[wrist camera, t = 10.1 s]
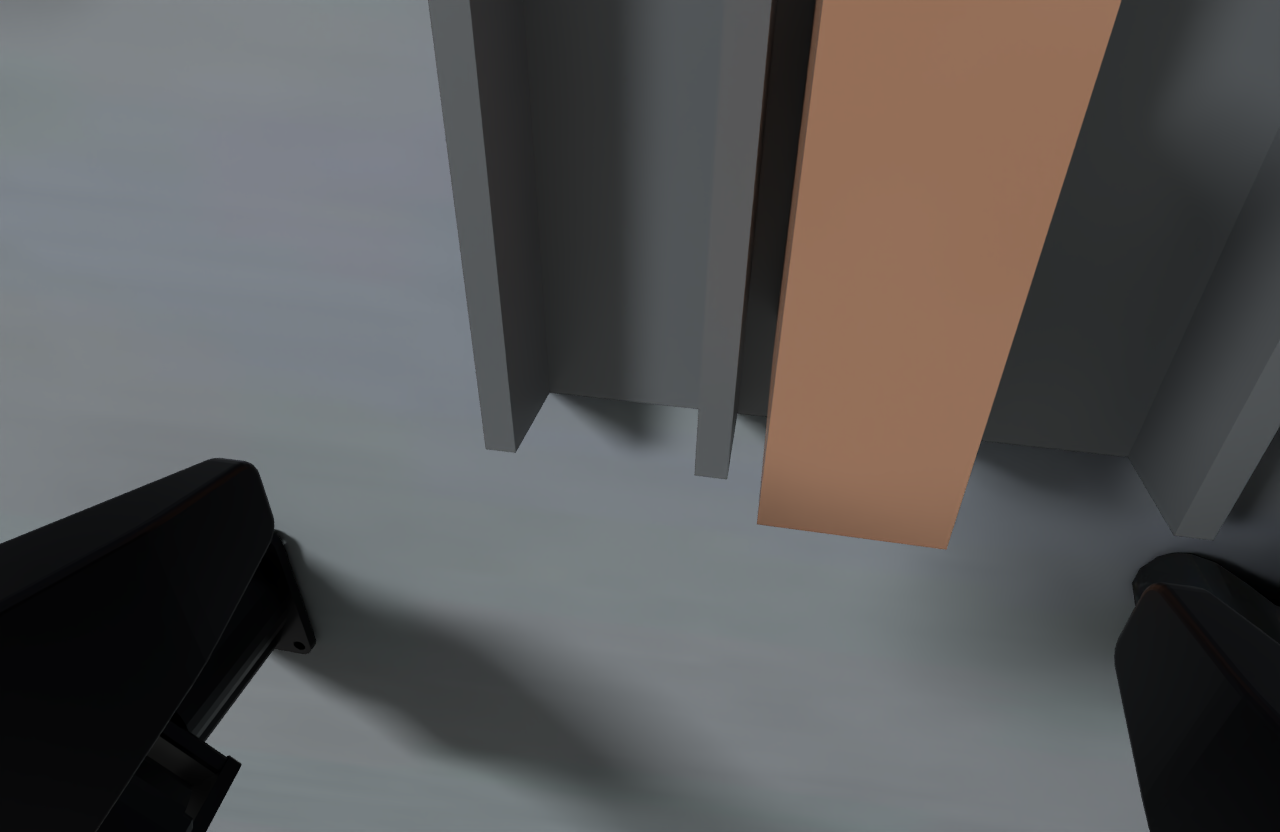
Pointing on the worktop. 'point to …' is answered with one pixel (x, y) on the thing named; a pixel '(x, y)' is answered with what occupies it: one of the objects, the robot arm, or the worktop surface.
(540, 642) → the worktop surface
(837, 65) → the tall tan upright block
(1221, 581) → the tablet
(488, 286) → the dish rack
